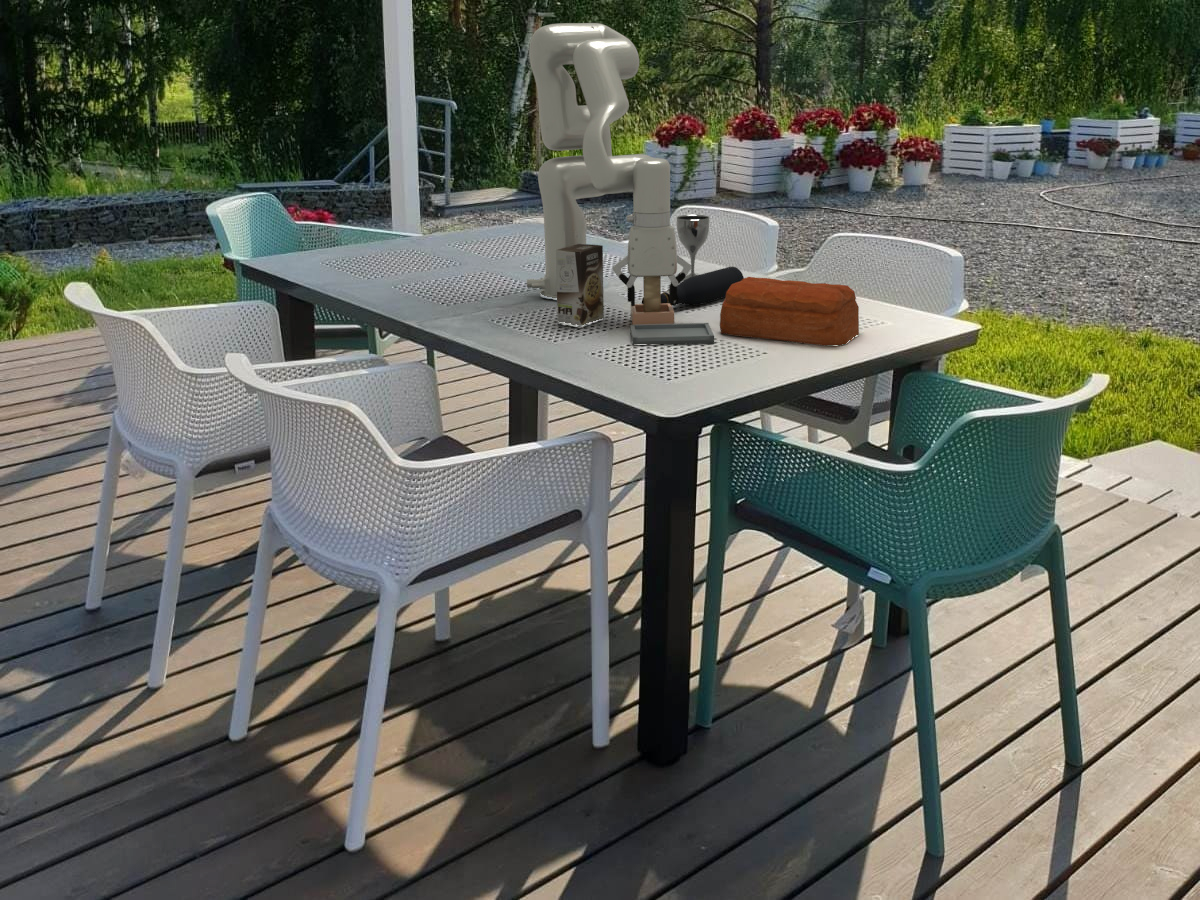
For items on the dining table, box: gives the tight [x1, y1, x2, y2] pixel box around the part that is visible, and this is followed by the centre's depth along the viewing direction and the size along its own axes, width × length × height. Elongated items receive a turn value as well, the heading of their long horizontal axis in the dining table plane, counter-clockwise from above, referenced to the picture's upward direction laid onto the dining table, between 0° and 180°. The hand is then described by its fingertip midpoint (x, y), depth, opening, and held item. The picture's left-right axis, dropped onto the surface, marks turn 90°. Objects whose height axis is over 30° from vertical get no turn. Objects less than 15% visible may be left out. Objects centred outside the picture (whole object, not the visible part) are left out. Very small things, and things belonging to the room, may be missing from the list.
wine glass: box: [676, 214, 710, 282], centre depth 302 cm, size 8×8×15 cm
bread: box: [719, 276, 860, 347], centre depth 249 cm, size 16×27×11 cm, turn 60°
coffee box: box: [556, 243, 605, 325], centre depth 260 cm, size 9×6×16 cm
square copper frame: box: [630, 303, 675, 325], centre depth 260 cm, size 9×9×3 cm
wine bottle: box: [641, 266, 745, 307], centre depth 275 cm, size 6×6×30 cm
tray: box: [629, 322, 715, 346], centre depth 248 cm, size 16×11×2 cm
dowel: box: [642, 276, 662, 312], centre depth 259 cm, size 4×4×11 cm
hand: (652, 304), depth 259 cm, fingers open, 7 cm apart
